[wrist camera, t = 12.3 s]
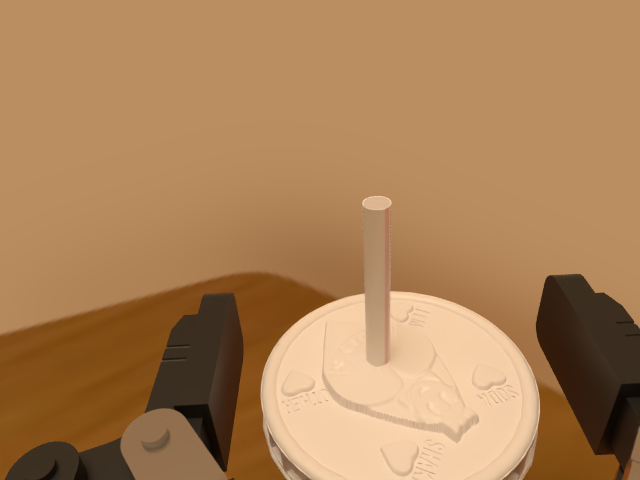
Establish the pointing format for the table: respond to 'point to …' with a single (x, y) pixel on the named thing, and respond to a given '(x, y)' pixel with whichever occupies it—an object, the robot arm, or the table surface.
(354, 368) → the smoothie
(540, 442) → the table surface
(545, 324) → the robot arm
